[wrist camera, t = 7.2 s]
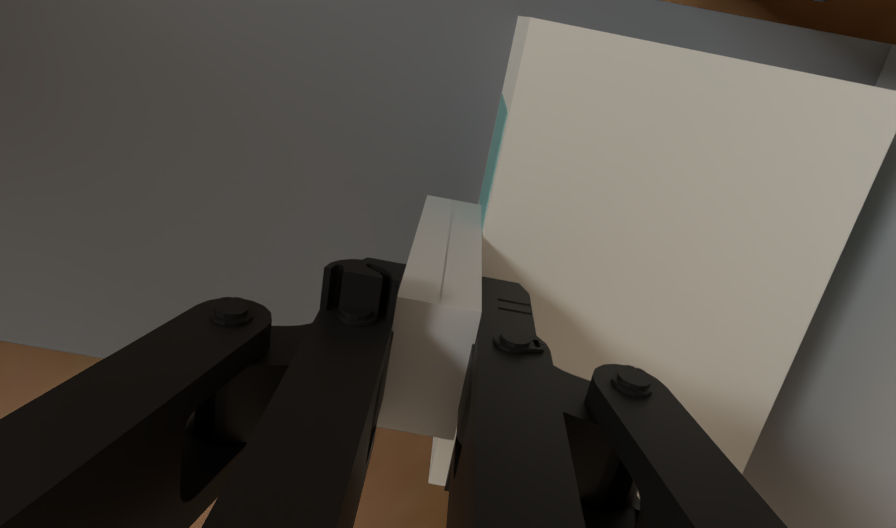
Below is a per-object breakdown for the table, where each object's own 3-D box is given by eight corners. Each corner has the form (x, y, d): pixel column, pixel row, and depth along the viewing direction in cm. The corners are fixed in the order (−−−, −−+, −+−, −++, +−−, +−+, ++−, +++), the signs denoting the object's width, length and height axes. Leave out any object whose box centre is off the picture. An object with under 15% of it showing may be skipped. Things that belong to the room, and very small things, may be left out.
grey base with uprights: (-13, 305, 23) (-464, 574, 12) (-62, -131, 18) (-923, -357, 7) (782, 444, 24) (1046, 821, 13) (956, 60, 19) (1655, 133, 8)
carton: (437, 391, 21) (427, 482, 17) (516, 15, 17) (529, 16, 13) (670, 434, 22) (715, 535, 17) (808, 74, 17) (914, 94, 13)
